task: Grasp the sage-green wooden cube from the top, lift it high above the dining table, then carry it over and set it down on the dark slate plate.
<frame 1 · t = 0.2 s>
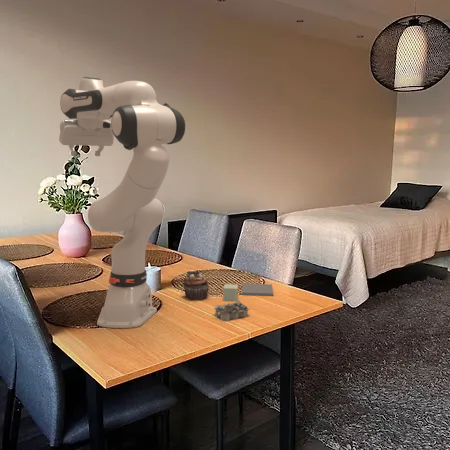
hand: (85, 155, 178), 52 cm above the table, tool tilted 20°, fingers open, 8 cm apart
egg carton: (231, 316, 154), on the table
cube: (230, 299, 171), on the table
slate plate: (257, 290, 181), on the table
cupcake: (196, 297, 173), on the table
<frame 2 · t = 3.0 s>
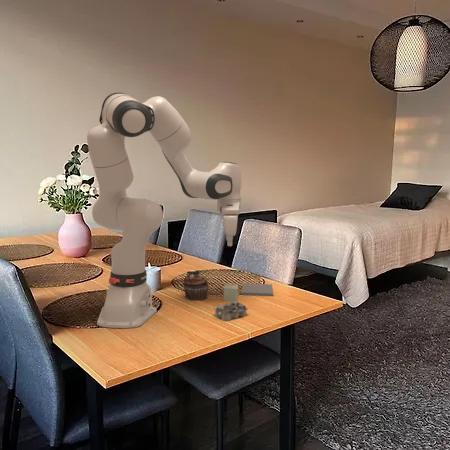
hand: (229, 242, 171), 21 cm above the table, tool pointing down, fingers open, 8 cm apart
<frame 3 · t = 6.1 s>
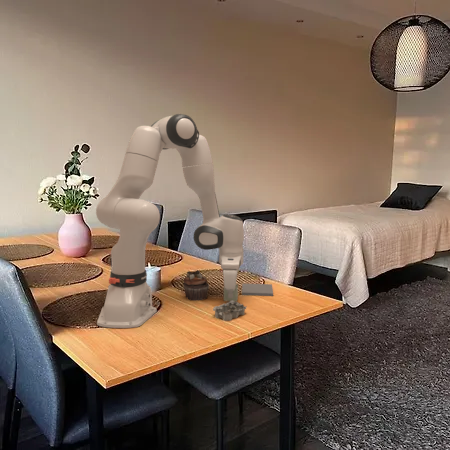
hand: (230, 294, 171), 2 cm above the table, tool pointing down, fingers closed on cube, 5 cm apart
cube: (230, 299, 171), on the table, touching gripper
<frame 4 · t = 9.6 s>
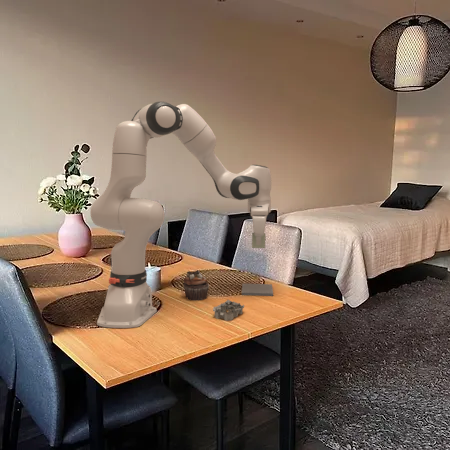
hand: (258, 242, 178), 19 cm above the table, tool pointing down, fingers closed on cube, 5 cm apart
cube: (258, 246, 178), point 18 cm above the table, touching gripper
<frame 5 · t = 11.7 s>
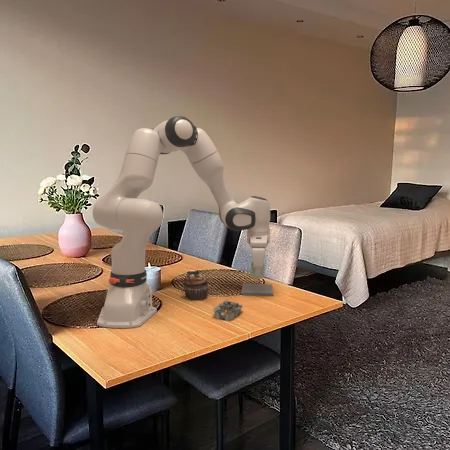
hand: (257, 272, 180), 7 cm above the table, tool pointing down, fingers closed on cube, 5 cm apart
cube: (257, 276, 180), point 6 cm above the table, touching gripper
when the fingers open (4 cm above the table, at t = 13.3 s): cube drops 1 cm, resting on slate plate.
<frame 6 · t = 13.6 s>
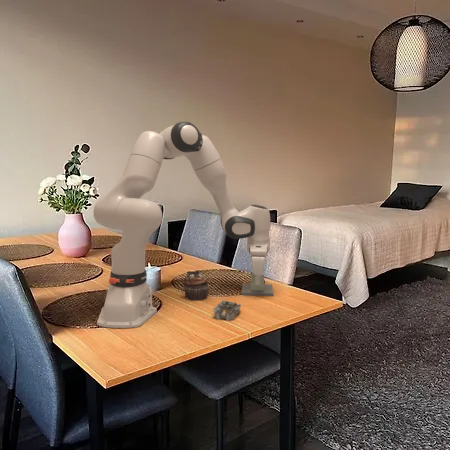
hand: (257, 280, 180), 4 cm above the table, tool pointing down, fingers open, 8 cm apart
cube: (257, 288, 181), point 1 cm above the table, touching slate plate
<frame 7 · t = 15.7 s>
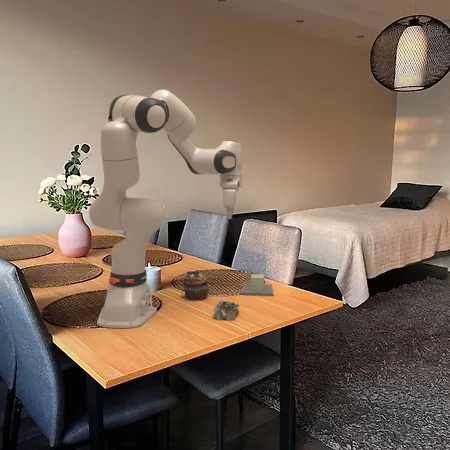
hand: (230, 217, 183), 28 cm above the table, tool pointing down, fingers open, 8 cm apart
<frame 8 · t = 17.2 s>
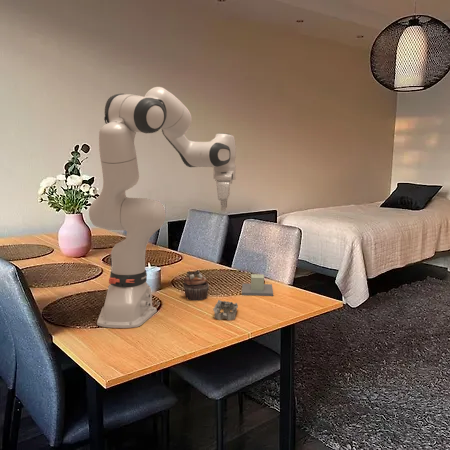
hand: (224, 209, 185), 31 cm above the table, tool pointing down, fingers open, 8 cm apart
at the end: cube inside the target area on the slate plate (0.0 cm from its centre), point 1.0 cm above the slate plate's base; cube tilted 0°; the gripper is holding nothing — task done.
